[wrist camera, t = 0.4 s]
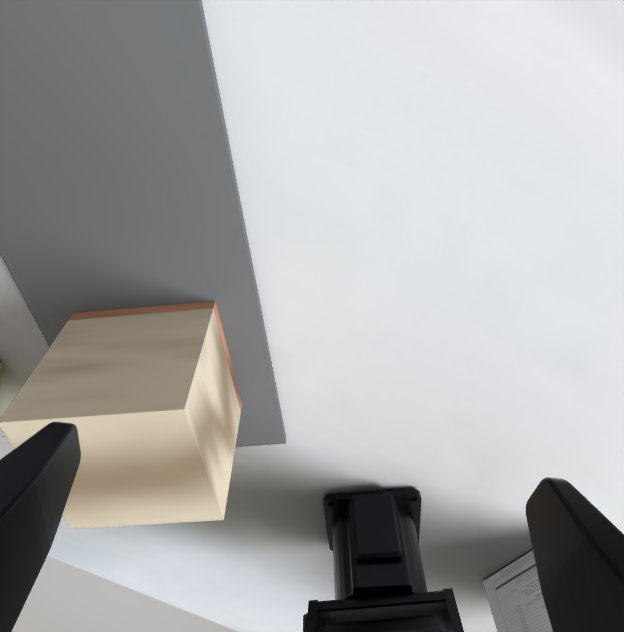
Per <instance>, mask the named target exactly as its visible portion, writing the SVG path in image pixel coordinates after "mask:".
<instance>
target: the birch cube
mask: <svg viewBox="0 0 624 632" xmlns="http://www.w3.org/2000/svg"><path fill="white" fill-rule="evenodd" d="M241 408H242V403H241V399H240V395H239V391H238V387H237V383H236V380H235V376H234V372H233V368H232V364H231V360H230V356H229V352H228V348H227V344H226V341H225V337H224V333H223V329H222V325H221V321H220V317H219V313H218V309H217V306H216V302H215V301H212V302H200V303H189V304H177V305H165V306H153V307H141V308H129V309H117V310H105V311H94V312H82V313H73V314H72V316H71V317H70V319H69V320H68V322H67V323H66V324H65V326H64V327H63V329H62V330H61V332H60V333H59V335H58V336H57V337H56V339H55V340H54V342H53V343H52V345H51V346H50V348H49V349H48V350H47V352H46V353H45V355H44V356H43V358H42V359H41V361H40V362H39V363H38V365H37V366H36V368H35V369H34V371H33V372H32V374H31V375H30V377H29V378H28V379H27V381H26V382H25V384H24V385H23V387H22V388H21V390H20V391H19V392H18V394H17V395H16V397H15V398H14V400H13V401H12V403H11V404H10V405H9V407H8V408H7V410H6V411H5V413H4V414H3V416H2V417H1V418H0V427H1V429H2V430H3V431H4V433H5V434H6V436H7V437H8V439H9V440H10V442H11V443H12V445H13V446H14V447H15V448H17V447H18V446H19V445H21V444H22V443H23V442H25V441H26V440H27V439H29V438H30V437H31V436H33V435H34V434H35V433H37V432H38V431H39V430H41V429H42V428H43V427H45V426H46V425H48V424H49V423H51V422H63V423H72V424H74V425H76V427H77V430H78V436H79V443H80V450H81V460H80V465H79V468H78V471H77V474H76V477H75V479H74V482H73V485H72V488H71V491H70V494H69V497H68V500H67V503H66V506H65V509H64V511H63V514H62V517H63V518H64V520H65V521H66V523H67V524H68V526H69V527H70V529H79V528H96V527H113V526H130V525H147V524H164V523H181V522H198V521H215V520H224V516H225V509H226V503H227V497H228V490H229V484H230V478H231V471H232V465H233V459H234V452H235V446H236V440H237V433H238V427H239V420H240V414H241Z"/></svg>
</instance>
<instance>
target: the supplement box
mask: <svg viewBox="0 0 624 632" xmlns="http://www.w3.org/2000/svg"><path fill="white" fill-rule="evenodd" d="M483 584H484V587H485V591H486V594H487V598H488V601H489V604H490V608H491V611H492V615H493V618H494V622H495V625H496V628H497V632H553V630H552V627H551V623H550V620H549V617H548V613H547V610H546V606H545V603H544V599H543V595H542V592H541V588H540V583H539V579H538V574H537V568H536V563H535V558H534V553H533V550H532V551H531V552H529V553H527V554H526V555H524V556H522V557H521V558H519V559H518V560H516V561H514V562H513V563H511V564H510V565H508V566H507V567H505V568H503V569H502V570H500V571H499V572H497V573H495V574H494V575H492V576H491V577H489V578H487V579H486V580H484V581H483Z"/></svg>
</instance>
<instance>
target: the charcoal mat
mask: <svg viewBox="0 0 624 632" xmlns="http://www.w3.org/2000/svg"><path fill="white" fill-rule="evenodd" d="M0 254H1V256H2V258H3V260H4V262H5V264H6V266H7V267H8V269H9V271H10V273H11V275H12V277H13V279H14V281H15V283H16V284H17V286H18V288H19V290H20V292H21V294H22V296H23V298H24V300H25V301H26V303H27V305H28V307H29V309H30V311H31V313H32V315H33V317H34V318H35V320H36V322H37V324H38V326H39V328H40V330H41V332H42V334H43V335H44V337H45V339H46V341H47V343H48V345H49V347H50V346H51V345H52V343H53V342H54V340H55V339H56V337H57V336H58V335H59V333H60V332H61V330H62V329H63V327H64V326H65V324H66V323H67V322H68V320H69V319H70V317H71V316H72V314H73V313H82V312H94V311H105V310H117V309H129V308H141V307H153V306H165V305H177V304H189V303H200V302H212V301H215V302H216V306H217V309H218V313H219V317H220V321H221V325H222V329H223V333H224V337H225V341H226V344H227V348H228V352H229V356H230V360H231V364H232V368H233V372H234V376H235V380H236V383H237V387H238V391H239V395H240V399H241V403H242V408H241V414H240V420H239V427H238V433H237V440H236V446H235V447H242V446H257V445H271V444H286V435H285V430H284V425H283V420H282V415H281V409H280V404H279V399H278V394H277V389H276V384H275V378H274V373H273V368H272V363H271V358H270V353H269V347H268V342H267V337H266V332H265V327H264V321H263V316H262V311H261V306H260V301H259V296H258V290H257V285H256V280H255V275H254V270H253V265H252V259H251V254H250V249H249V244H248V239H247V234H246V228H245V223H244V218H243V213H242V208H241V203H240V197H239V192H238V187H237V182H236V177H235V172H234V166H233V161H232V156H231V151H230V146H229V141H228V135H227V130H226V125H225V120H224V115H223V110H222V104H221V99H220V94H219V89H218V84H217V79H216V73H215V68H214V63H213V58H212V53H211V48H210V42H209V37H208V32H207V27H206V22H205V17H204V11H203V6H202V1H201V0H0Z"/></svg>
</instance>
